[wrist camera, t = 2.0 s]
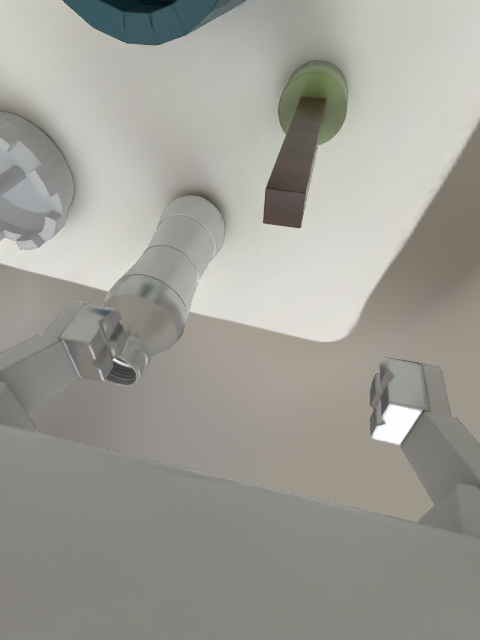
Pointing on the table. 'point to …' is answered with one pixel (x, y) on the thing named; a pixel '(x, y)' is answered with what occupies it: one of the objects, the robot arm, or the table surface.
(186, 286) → the plastic bottle
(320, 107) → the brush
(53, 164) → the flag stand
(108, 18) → the jar
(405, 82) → the table surface
